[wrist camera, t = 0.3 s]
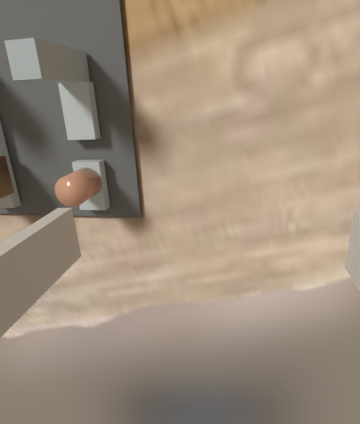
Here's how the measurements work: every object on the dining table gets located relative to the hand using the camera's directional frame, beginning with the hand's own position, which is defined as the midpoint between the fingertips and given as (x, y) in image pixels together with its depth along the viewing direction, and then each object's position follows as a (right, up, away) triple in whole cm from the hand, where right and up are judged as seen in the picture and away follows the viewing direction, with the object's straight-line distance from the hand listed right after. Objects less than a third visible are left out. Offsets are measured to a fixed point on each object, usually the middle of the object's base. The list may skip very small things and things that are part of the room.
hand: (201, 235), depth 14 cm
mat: (-21, +16, +28) cm, 38 cm away
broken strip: (-14, +12, +28) cm, 33 cm away
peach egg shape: (-14, +5, +28) cm, 32 cm away
